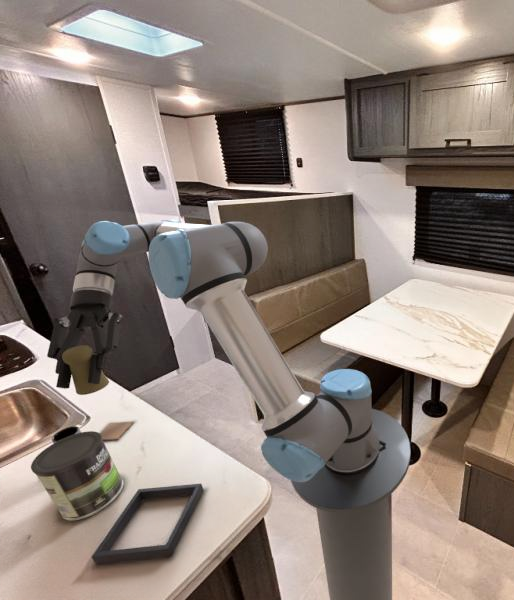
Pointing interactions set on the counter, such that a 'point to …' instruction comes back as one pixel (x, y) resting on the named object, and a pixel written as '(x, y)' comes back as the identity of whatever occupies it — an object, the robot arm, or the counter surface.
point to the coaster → (115, 430)
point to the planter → (65, 433)
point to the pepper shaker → (82, 369)
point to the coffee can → (78, 475)
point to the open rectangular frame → (141, 553)
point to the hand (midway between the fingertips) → (78, 385)
